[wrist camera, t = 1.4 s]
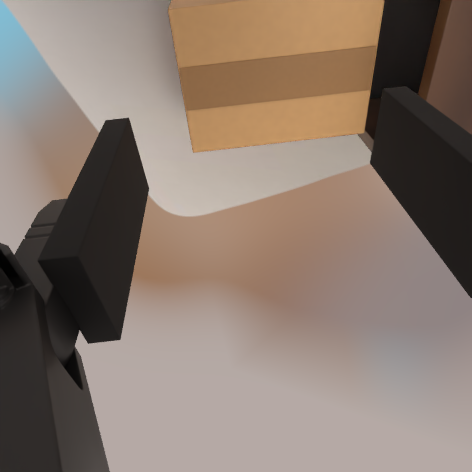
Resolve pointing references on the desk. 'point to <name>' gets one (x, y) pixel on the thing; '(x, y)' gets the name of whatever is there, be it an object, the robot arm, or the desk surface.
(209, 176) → the desk surface
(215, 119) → the box
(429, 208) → the robot arm
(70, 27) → the desk surface
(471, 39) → the cabinet
